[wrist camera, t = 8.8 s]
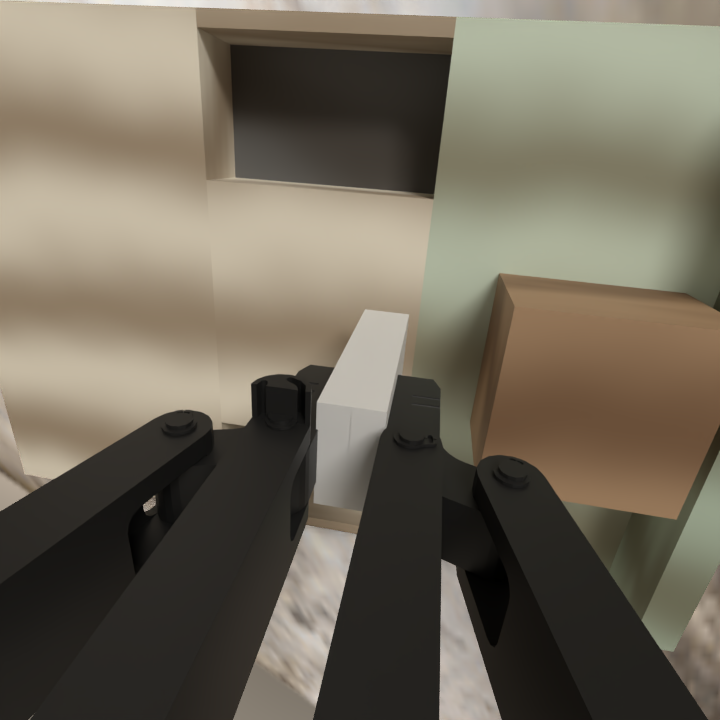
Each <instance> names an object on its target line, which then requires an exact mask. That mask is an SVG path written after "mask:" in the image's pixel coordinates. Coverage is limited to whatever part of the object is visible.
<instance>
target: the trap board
mask: <svg viewBox="0 0 720 720" xmlns="http://www.w3.org/2000/svg"><path fill="white" fill-rule="evenodd" d="M499 273H504V274H514V275H523V276H532V277H541V278H551V279H560V280H569V281H578V282H588V283H597V284H606V285H615V286H625V287H634V288H643V289H652V290H662V291H671V292H680V293H687V294H688V295H690V296H692V297H694V298H696V299H697V300H699V301H701V302H703V303H704V304H706V305H708V306H710V307H711V308H713V309H715V310H717V311H719V312H720V26H695V25H667V24H639V23H612V22H584V21H556V20H528V19H500V18H472V17H444V16H416V15H388V14H361V13H333V12H305V11H277V10H249V9H221V8H193V7H165V6H137V5H110V4H82V3H54V2H26V1H0V388H1V391H2V395H3V398H4V402H5V405H6V409H7V413H8V416H9V420H10V423H11V427H12V430H13V434H14V438H15V441H16V445H17V448H18V452H19V455H20V459H21V463H22V466H23V470H24V473H25V474H26V475H32V476H37V477H43V478H48V479H55V478H57V477H58V476H60V475H62V474H63V473H65V472H67V471H68V470H70V469H72V468H73V467H75V466H77V465H78V464H80V463H82V462H83V461H85V460H87V459H88V458H90V457H92V456H93V455H95V454H97V453H98V452H100V451H102V450H103V449H105V448H106V447H108V446H110V445H111V444H113V443H115V442H116V441H118V440H120V439H121V438H123V437H125V436H126V435H128V434H130V433H131V432H133V431H135V430H136V429H138V428H140V427H141V426H143V425H145V424H146V423H148V422H150V421H151V420H153V419H155V418H156V417H159V416H161V415H163V414H165V413H169V412H174V411H177V410H193V411H199V412H202V413H204V414H206V415H208V416H209V417H210V418H211V420H212V422H213V430H218V429H236V428H244V427H245V426H246V424H247V423H248V422H249V420H250V419H251V418H252V402H251V383H253V382H254V381H255V380H257V379H259V378H261V377H264V376H268V375H275V374H288V375H294V376H296V374H297V373H298V371H300V370H302V369H303V368H305V367H307V366H309V365H318V366H325V367H333V368H335V366H336V364H337V362H338V360H339V358H340V357H341V355H342V353H343V351H344V349H345V347H346V345H347V343H348V341H349V339H350V337H351V335H352V333H353V332H354V330H355V328H356V326H357V324H358V322H359V320H360V318H361V316H362V314H363V312H364V310H365V309H367V310H376V311H384V312H393V313H402V314H409V320H408V329H407V338H406V346H405V355H404V364H403V372H402V375H403V376H411V377H419V378H426V379H433V380H434V381H435V382H436V383H437V385H438V386H439V387H440V389H441V399H440V438H441V441H442V444H443V448H444V449H445V450H446V451H447V452H448V453H449V454H450V455H452V456H453V457H455V458H456V459H458V460H461V461H463V462H465V463H468V464H470V465H473V466H474V462H473V451H472V440H471V429H470V419H471V414H472V409H473V404H474V399H475V394H476V389H477V384H478V378H479V373H480V368H481V363H482V358H483V353H484V348H485V343H486V338H487V333H488V328H489V323H490V318H491V312H492V307H493V302H494V297H495V292H496V287H497V282H498V277H499ZM153 497H154V498H155V496H153ZM562 503H563V504H564V506H565V507H566V509H567V510H568V512H569V513H570V515H571V516H572V518H573V519H574V521H575V522H576V524H577V525H578V527H579V528H580V530H581V531H582V533H583V534H584V536H585V537H586V539H587V540H588V541H589V543H590V544H591V546H592V547H593V549H594V550H595V552H596V553H597V555H598V556H599V558H600V559H601V561H602V562H603V564H604V565H605V567H606V568H607V570H608V571H609V573H610V574H611V576H612V577H613V579H614V580H615V582H616V583H617V585H618V586H619V588H620V589H621V591H622V592H623V594H624V595H625V597H626V598H627V600H628V601H629V603H630V604H631V606H632V607H633V609H634V610H635V612H636V613H637V615H638V616H639V618H640V619H641V621H642V622H643V623H644V625H645V626H646V628H647V629H648V631H649V632H650V634H651V635H652V637H653V638H654V640H655V641H656V643H657V644H658V646H659V647H660V649H662V650H667V651H672V652H673V651H674V649H675V647H676V645H677V643H678V642H679V640H680V638H681V636H682V634H683V632H684V630H685V628H686V626H687V624H688V622H689V620H690V619H691V617H692V615H693V613H694V611H695V609H696V607H697V605H698V603H699V601H700V599H701V597H702V596H703V594H704V592H705V590H706V588H707V586H708V584H709V582H710V580H711V578H712V576H713V575H714V573H715V571H716V569H717V567H718V565H719V563H720V425H719V427H718V430H717V432H716V434H715V436H714V438H713V441H712V443H711V445H710V447H709V449H708V452H707V454H706V456H705V458H704V460H703V463H702V465H701V467H700V469H699V471H698V474H697V476H696V478H695V480H694V482H693V485H692V487H691V489H690V491H689V493H688V496H687V498H686V500H685V502H684V504H683V507H682V509H681V511H680V513H679V515H678V518H677V520H675V519H669V518H663V517H657V516H651V515H645V514H639V513H633V512H627V511H621V510H615V509H609V508H603V507H597V506H591V505H585V504H578V503H572V502H566V501H562ZM361 515H362V511H357V510H351V509H345V508H339V507H333V506H327V505H321V504H316V503H314V488H313V491H312V493H311V496H310V498H309V512H308V520H307V523H306V525H310V526H316V527H321V528H327V529H332V530H338V531H344V532H349V533H355V534H357V532H358V528H359V524H360V519H361Z"/></svg>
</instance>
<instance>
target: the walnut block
mask: <svg viewBox="0 0 720 720" xmlns="http://www.w3.org/2000/svg"><path fill="white" fill-rule="evenodd" d="M719 425H720V312H719V311H717V310H715V309H713V308H711V307H710V306H708V305H706V304H704V303H703V302H701V301H699V300H697V299H696V298H694V297H692V296H690V295H688V294H687V293H680V292H671V291H662V290H652V289H643V288H634V287H625V286H615V285H606V284H597V283H588V282H578V281H569V280H560V279H551V278H541V277H532V276H523V275H514V274H504V273H499V277H498V282H497V287H496V292H495V297H494V302H493V307H492V312H491V318H490V323H489V328H488V333H487V338H486V343H485V348H484V353H483V358H482V363H481V368H480V373H479V378H478V384H477V389H476V394H475V399H474V404H473V409H472V414H471V419H470V429H471V440H472V451H473V462H474V466H476V467H477V465H478V464H479V462H480V460H482V459H484V458H486V457H488V456H494V455H505V456H513V457H516V458H519V459H522V460H524V461H526V462H528V463H530V464H531V465H533V466H535V467H536V468H537V469H538V470H539V471H540V472H541V473H542V474H543V475H544V476H545V477H546V479H547V480H548V482H549V483H550V485H551V486H552V488H553V489H554V491H555V492H556V494H557V495H558V497H559V498H560V500H561V501H566V502H572V503H578V504H585V505H591V506H597V507H603V508H609V509H615V510H621V511H627V512H633V513H639V514H645V515H651V516H657V517H663V518H669V519H675V520H677V518H678V515H679V513H680V511H681V509H682V507H683V504H684V502H685V500H686V498H687V496H688V493H689V491H690V489H691V487H692V485H693V482H694V480H695V478H696V476H697V474H698V471H699V469H700V467H701V465H702V463H703V460H704V458H705V456H706V454H707V452H708V449H709V447H710V445H711V443H712V441H713V438H714V436H715V434H716V432H717V430H718V427H719Z"/></svg>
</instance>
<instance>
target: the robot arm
mask: <svg viewBox="0 0 720 720" xmlns="http://www.w3.org/2000/svg"><path fill="white" fill-rule="evenodd" d="M408 320H409V314H402V313H393V312H384V311H376V310H367V309H365V310H364V312H363V314H362V316H361V318H360V320H359V322H358V324H357V326H356V328H355V330H354V332H353V333H352V335H351V337H350V339H349V341H348V343H347V345H346V347H345V349H344V351H343V353H342V355H341V357H340V358H339V360H338V362H337V364H336V366H335V368H333V367H325V366H318V365H309V366H307V367H305V368H303V369H302V370H300V371H298V373H297V374H296V376H294V375H288V374H275V375H268V376H264V377H261V378H259V379H257V380H255V381H254V382H253V383H251V402H252V418H251V419H250V420H249V422H248V423H247V424H246V426H245V427H244V428H236V429H218V430H213V422H212V420H211V418H210V417H209V416H208V415H206V414H204V413H202V412H199V411H193V410H177V411H174V412H169V413H165V414H163V415H161V416H159V417H156V418H155V419H153V420H151V421H150V422H148V423H146V424H145V425H143V426H141V427H140V428H138V429H136V430H135V431H133V432H131V433H130V434H128V435H126V436H125V437H123V438H121V439H120V440H118V441H116V442H115V443H113V444H111V445H110V446H108V447H106V448H105V449H103V450H102V451H100V452H98V453H97V454H95V455H93V456H92V457H90V458H88V459H87V460H85V461H83V462H82V463H80V464H78V465H77V466H75V467H73V468H72V469H70V470H68V471H67V472H65V473H63V474H62V475H60V476H58V477H57V478H55V479H53V480H52V481H50V482H48V483H47V484H45V485H43V486H42V487H40V488H39V489H37V490H35V491H34V492H32V493H30V494H29V495H27V496H25V497H24V498H22V499H20V500H19V501H17V502H15V503H14V504H12V505H11V506H9V507H7V508H5V509H4V510H2V511H0V720H28V719H29V718H30V717H31V716H32V715H33V714H34V713H35V714H34V715H33V717H32V718H31V719H30V720H233V718H234V715H235V713H236V710H237V707H238V704H239V701H240V699H241V696H242V694H243V691H244V689H245V686H246V683H247V680H248V678H249V675H250V672H251V670H252V667H253V664H254V662H255V659H256V656H257V654H258V651H259V648H260V646H261V643H262V640H263V638H264V635H265V632H266V630H267V627H268V624H269V622H270V619H271V616H272V614H273V611H274V608H275V606H276V603H277V600H278V598H279V595H280V592H281V589H282V587H283V584H284V581H285V579H286V576H287V573H288V571H289V568H290V565H291V563H292V560H293V557H294V555H295V552H296V549H297V547H298V544H299V541H300V539H301V536H302V533H303V531H304V528H305V525H306V523H307V520H308V512H309V498H310V496H311V493H312V491H313V488H314V503H316V504H321V505H327V506H333V507H339V508H345V509H351V510H357V511H362V515H361V519H360V524H359V528H358V532H357V536H356V540H355V545H354V549H353V553H352V557H351V562H350V566H349V570H348V574H347V578H346V583H345V587H344V591H343V595H342V600H341V604H340V608H339V612H338V617H337V621H336V625H335V629H334V633H333V638H332V642H331V646H330V650H329V655H328V659H327V663H326V667H325V671H324V676H323V680H322V684H321V688H320V693H319V697H318V701H317V705H316V710H315V714H314V718H313V720H439V692H440V615H441V559H443V560H445V561H447V562H449V563H452V564H454V565H456V570H457V577H458V580H459V583H460V587H461V590H462V593H463V596H464V599H465V603H466V606H467V609H468V612H469V616H470V619H471V622H472V625H473V628H474V632H475V635H476V638H477V641H478V644H479V648H480V651H481V654H482V657H483V661H484V664H485V667H486V670H487V673H488V677H489V680H490V683H491V686H492V689H493V693H494V696H495V699H496V702H497V706H498V709H499V712H500V715H501V718H502V720H708V719H707V717H706V716H705V714H704V713H703V711H702V710H701V708H700V707H699V706H698V704H697V703H696V701H695V700H694V698H693V697H692V695H691V694H690V692H689V691H688V689H687V688H686V686H685V685H684V683H683V682H682V680H681V679H680V677H679V676H678V674H677V673H676V671H675V670H674V668H673V667H672V665H671V664H670V662H669V661H668V659H667V658H666V656H665V655H664V653H663V652H662V650H661V649H660V647H659V646H658V644H657V643H656V641H655V640H654V638H653V637H652V635H651V634H650V632H649V631H648V629H647V628H646V626H645V625H644V623H643V622H642V621H641V619H640V618H639V616H638V615H637V613H636V612H635V610H634V609H633V607H632V606H631V604H630V603H629V601H628V600H627V598H626V597H625V595H624V594H623V592H622V591H621V589H620V588H619V586H618V585H617V583H616V582H615V580H614V579H613V577H612V576H611V574H610V573H609V571H608V570H607V568H606V567H605V565H604V564H603V562H602V561H601V559H600V558H599V556H598V555H597V553H596V552H595V550H594V549H593V547H592V546H591V544H590V543H589V541H588V540H587V539H586V537H585V536H584V534H583V533H582V531H581V530H580V528H579V527H578V525H577V524H576V522H575V521H574V519H573V518H572V516H571V515H570V513H569V512H568V510H567V509H566V507H565V506H564V504H563V503H562V501H561V500H560V498H559V497H558V495H557V494H556V492H555V491H554V489H553V488H552V486H551V485H550V483H549V482H548V480H547V479H546V477H545V476H544V475H543V474H542V473H541V472H540V471H539V470H538V469H537V468H536V467H535V466H533V465H531V464H530V463H528V462H526V461H524V460H522V459H519V458H516V457H513V456H505V455H494V456H488V457H486V458H484V459H482V460H480V462H479V464H478V465H477V467H476V466H473V465H470V464H468V463H465V462H463V461H461V460H458V459H456V458H455V457H453V456H452V455H450V454H449V453H448V452H447V451H446V450H445V449H444V448H443V444H442V441H441V438H440V399H441V389H440V387H439V386H438V385H437V383H436V382H435V381H434V380H433V379H426V378H419V377H411V376H403V375H402V372H403V364H404V355H405V346H406V338H407V329H408ZM153 496H155V498H156V505H155V506H154V507H153V508H151V509H150V510H148V511H146V512H144V509H143V504H144V503H146V502H147V501H148V500H149V499H151V498H152V497H153Z"/></svg>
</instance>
